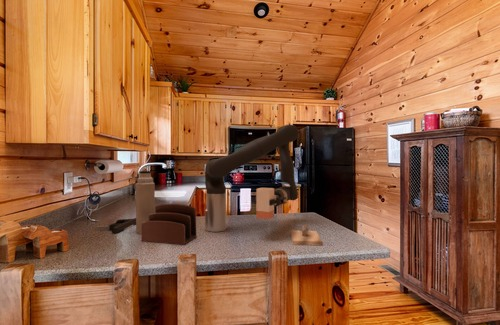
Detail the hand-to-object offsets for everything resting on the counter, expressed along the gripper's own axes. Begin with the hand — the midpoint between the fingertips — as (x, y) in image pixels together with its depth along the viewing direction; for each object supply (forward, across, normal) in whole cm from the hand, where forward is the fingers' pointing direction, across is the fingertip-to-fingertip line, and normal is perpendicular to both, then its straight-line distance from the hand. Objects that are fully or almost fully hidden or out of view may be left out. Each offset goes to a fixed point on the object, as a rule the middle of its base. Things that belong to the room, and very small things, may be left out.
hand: (263, 202), depth 99 cm
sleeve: (-3, 0, +7) cm, 7 cm away
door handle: (+13, -73, +17) cm, 76 cm away
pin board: (-8, +15, +15) cm, 23 cm away
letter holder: (+15, -36, +16) cm, 42 cm away
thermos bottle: (+12, -54, +16) cm, 58 cm away
